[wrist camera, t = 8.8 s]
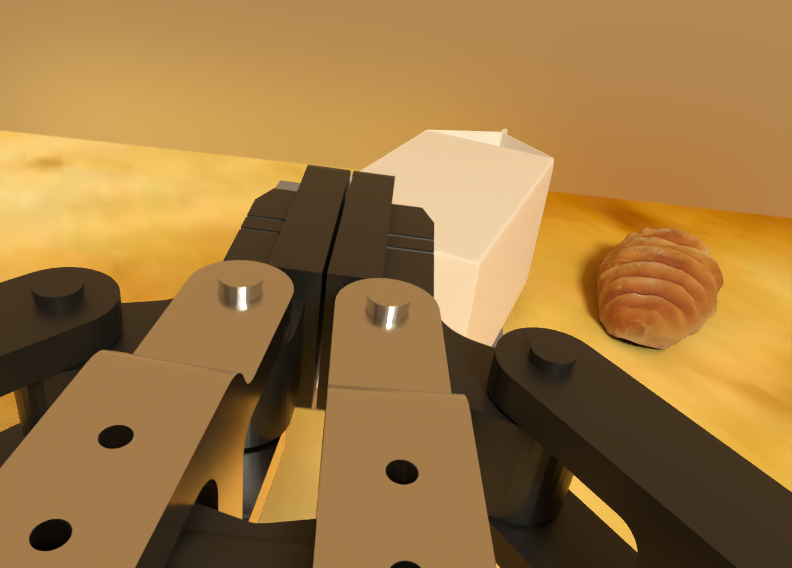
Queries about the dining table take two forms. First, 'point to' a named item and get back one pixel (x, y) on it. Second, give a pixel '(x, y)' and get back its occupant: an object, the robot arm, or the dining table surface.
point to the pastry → (657, 287)
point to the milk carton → (474, 218)
